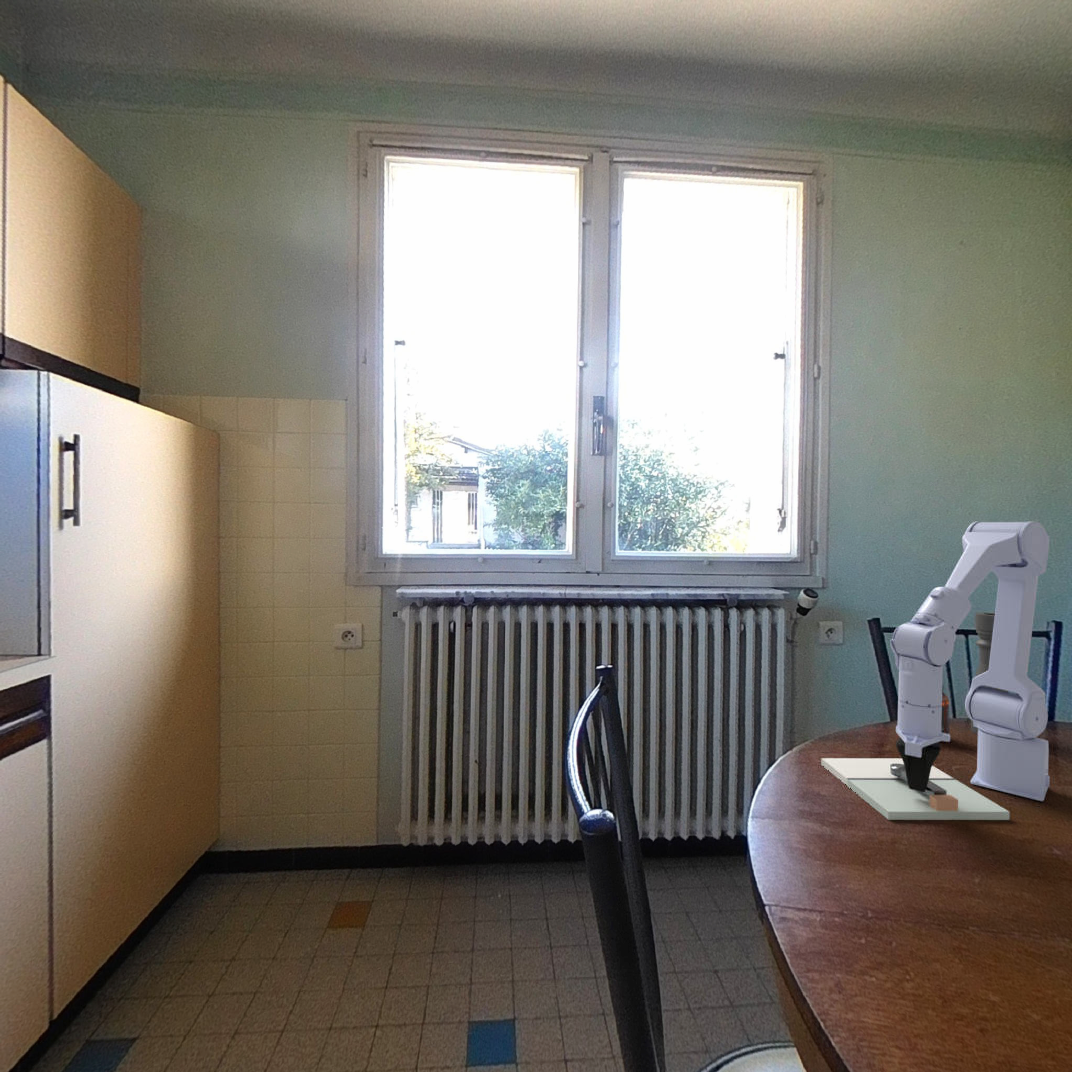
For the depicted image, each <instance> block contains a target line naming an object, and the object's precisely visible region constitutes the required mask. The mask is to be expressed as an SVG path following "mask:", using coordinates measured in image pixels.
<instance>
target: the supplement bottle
mask: <svg viewBox="0 0 1072 1072" xmlns="http://www.w3.org/2000/svg"><path fill="white" fill-rule="evenodd" d="M949 699H950V697H948V695H947V694H945V692H944V683H942V719H941V732H942V733H946V734H949V735H950V725H949V724H950V700H949ZM941 742H942V743H943V742H944V741H939V742H938V743H941Z"/></svg>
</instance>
